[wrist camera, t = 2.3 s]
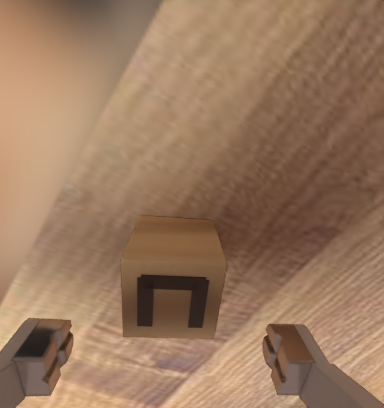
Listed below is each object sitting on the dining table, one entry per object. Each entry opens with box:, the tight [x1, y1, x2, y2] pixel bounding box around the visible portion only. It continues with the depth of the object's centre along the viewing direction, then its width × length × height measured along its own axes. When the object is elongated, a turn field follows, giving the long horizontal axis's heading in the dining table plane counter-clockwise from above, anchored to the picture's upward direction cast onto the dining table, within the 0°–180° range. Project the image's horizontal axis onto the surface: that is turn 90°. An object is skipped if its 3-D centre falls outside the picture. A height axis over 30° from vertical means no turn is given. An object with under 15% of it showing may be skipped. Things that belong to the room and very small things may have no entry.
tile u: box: [121, 215, 227, 339], centre depth 12 cm, size 4×4×5 cm
